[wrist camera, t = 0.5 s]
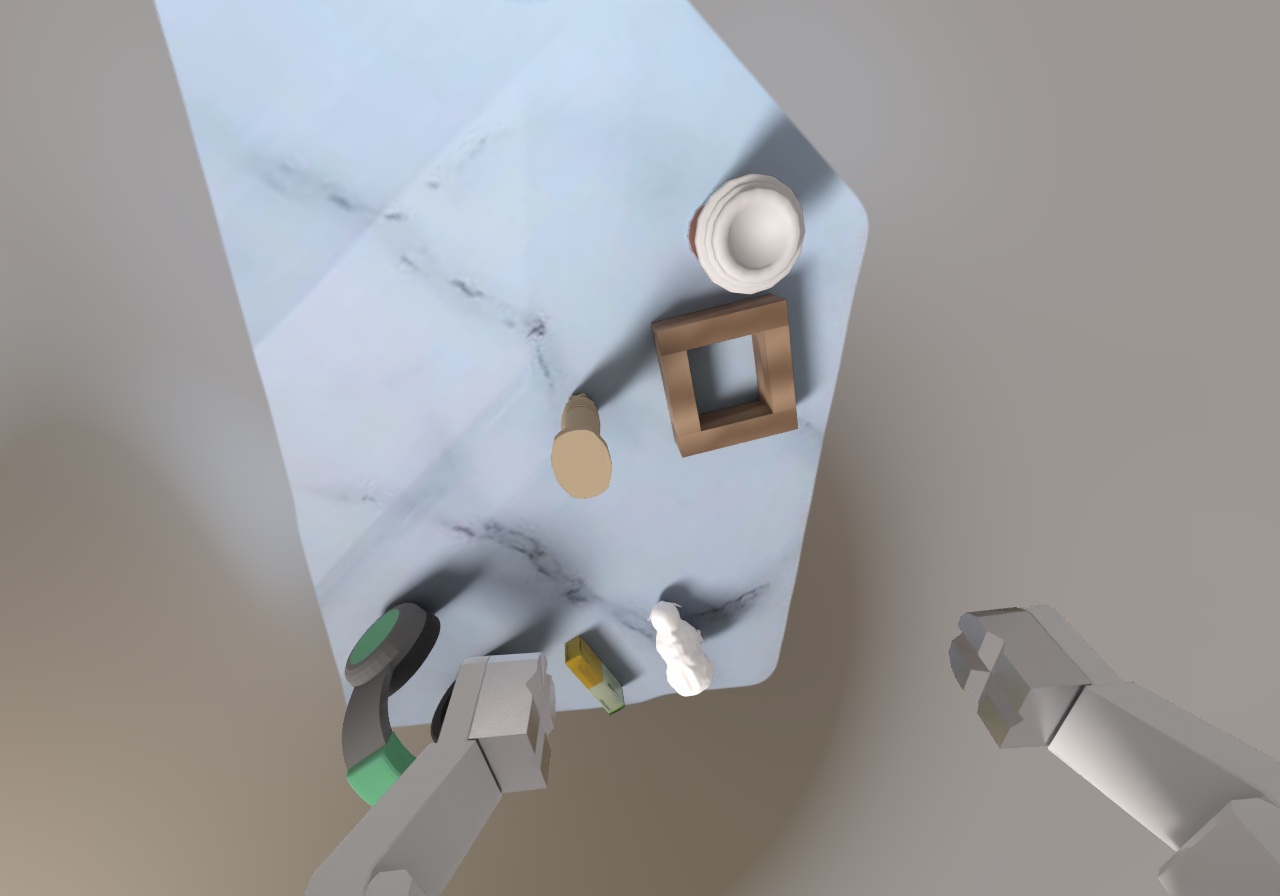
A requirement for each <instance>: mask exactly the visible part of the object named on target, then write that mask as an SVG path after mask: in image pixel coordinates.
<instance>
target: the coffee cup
mask: <svg viewBox="0 0 1280 896" xmlns="http://www.w3.org/2000/svg"><path fill="white" fill-rule="evenodd" d="M804 235H805V226H804V218H803V211H802V207H801V205H800V204H799V202H798V200H797V198H796V197H795V195H794V193H793V191H792V190H791V188H789V187H788V186H786V185H785V184H783V183H782V182H781V181H779V180H778V179H776V178H775V177H773V176H767V175H760V174H753V173H750V174H747V175H744V176H741V177H738V178H735V179H732V180H729V181H727V182H725V183H724V184H723V185H722V186H721V187H720V188H719V189H717V190H716V191H715V192H714V193H713V194H712V195H710V196H709V198H708V200H707V201H706V202H705V203H704V204H703V205H701V206H700V207H699V208H698V209H697V210H696V211H695V213H694V215H693V217H692V218H691V220H690V222H689V228H688V235H687V238H688V242H689V246H690V250H691V251H692V253H693V254H694V256H695V257H696V259H697V260H698V261H699V264H700V265H701V267H702V268H703V270H704V271H705V272H706V274H707V275H708V277H709V278H710V280H711V281H712V282H714V283H716V284H717V285H719V286H721V287H722V288H724V289H726V290H727V291H729V292H733V293H743V294H753V293H756V292H760V291H763V290H766V289H769V288H771V287H773V286H774V285H775V284H776V283H778V282H779V281H780V280H781V279H782V278H784V277H785V276H786V275H787V274H788V273H789V272H790V270H791V268H792V267H793V265H794V263H795V262H796V260H797V259H798V257H799V255H800V253H801V248H802V244H803V239H804Z"/></svg>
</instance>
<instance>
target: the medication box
mask: <svg viewBox="0 0 1280 896" xmlns="http://www.w3.org/2000/svg"><path fill="white" fill-rule="evenodd" d="M565 664H566V665H567V666H568V668H569V669H570V670H571V671H572V672H573V673H574V674H575V675H576V677H577V678H578V679H579V680H580V681H581V682H582V683H583V685H584V686H585V687H586V688H587V689H588V690H589V691H590V692H591V694H592V695H593V696H594V697H595V698H596V699H597V700H598V702H599V703H600V704H601V705H602V706H603V707H604V708H605V710H606V711H607V712H608V713H609V714H610V715H611V714H614V713H615V712H618V711H619V710H621V709H622V708H624V707H625V704H624V697H623V691H622V686H621V684H620V683H619V682H618V681H617V680H616V678H615V677H614V676H613V675H612V674H611V672H610V671H609V670H608V669H607V667H606V666H605V665H604V664H603V663H602V662H601V660H600V659H599V658H598V657H597V656H596V654H595V653H594V652H593V651H592V650H591V648H590V647H589V646H588V645H587V644H586V642H585V641H584V640H583V639H582V638H581V636H578V637H576V638H574V639H572V640H570V641H568V642H567V643H565Z"/></svg>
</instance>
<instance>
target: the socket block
mask: <svg viewBox="0 0 1280 896" xmlns="http://www.w3.org/2000/svg"><path fill="white" fill-rule="evenodd" d="M651 327H652V332H653V337H654V342H655V346H656V351H657V356H658V361H659V366H660V370H661V375H662V380H663V385H664V390H665V395H666V399H667V404H668V409H669V414H670V419H671V424H672V428H673V433H674V438H675V442H676V444H677V446H678V449H679V451H680V453H681V455H682V458H683V457H687V456H691V455H695V454H699V453H703V452H707V451H711V450H715V449H719V448H723V447H727V446H731V445H735V444H739V443H743V442H747V441H751V440H755V439H759V438H763V437H767V436H771V435H775V434H779V433H783V432H787V431H791V430H795V429H798V422H797V411H796V400H795V389H794V378H793V367H792V356H791V345H790V335H789V324H788V313H787V302H786V300H785V299H783V298H780V297H777V296H775V295H772V294H767V295H763V296H759V297H755V298H751V299H747V300H743V301H739V302H735V303H731V304H727V305H722V306H718V307H714V308H710V309H706V310H702V311H698V312H694V313H690V314H686V315H682V316H678V317H674V318H670V319H665V320H661V321H657V322H653V323H651ZM750 334H752V341H753V349H754V357H755V365H756V374H757V382H758V390H759V398H760V400H757V401H753V402H749V403H745V404H741V405H737V406H733V407H729V408H725V409H721V410H717V411H713V412H709V413H705V414H701V415H698V412H697V406H696V401H695V395H694V390H693V384H692V378H691V373H690V367H689V362H688V356H687V351H686V350H690V349H694V348H698V347H702V346H706V345H710V344H714V343H718V342H722V341H726V340H730V339H734V338H738V337H742V336H746V335H750Z"/></svg>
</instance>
